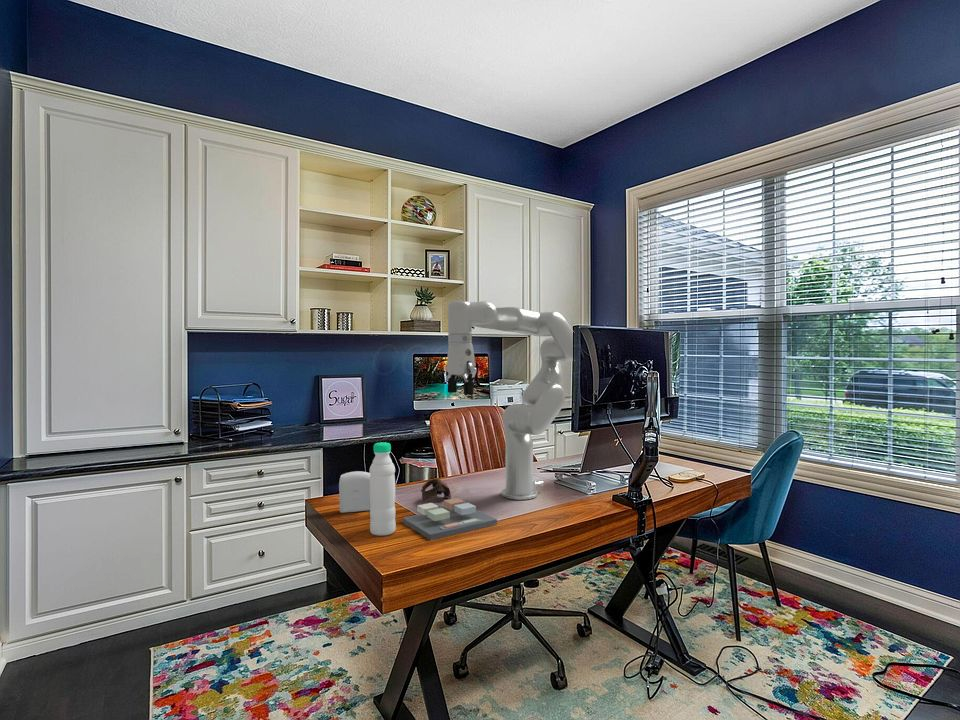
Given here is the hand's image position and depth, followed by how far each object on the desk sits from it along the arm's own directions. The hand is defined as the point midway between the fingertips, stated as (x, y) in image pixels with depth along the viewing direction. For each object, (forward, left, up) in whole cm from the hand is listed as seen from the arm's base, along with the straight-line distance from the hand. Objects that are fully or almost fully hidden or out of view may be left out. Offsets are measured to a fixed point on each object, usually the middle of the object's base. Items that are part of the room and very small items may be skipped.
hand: (460, 393), depth 170 cm
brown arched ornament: (+2, -12, -37) cm, 39 cm away
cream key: (+16, +7, -34) cm, 38 cm away
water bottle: (+30, +7, -37) cm, 48 cm away
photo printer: (+29, -16, -37) cm, 50 cm away
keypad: (+11, +11, -37) cm, 40 cm away
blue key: (+6, +13, -34) cm, 37 cm away
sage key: (+15, +13, -34) cm, 39 cm away
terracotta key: (+6, +7, -34) cm, 35 cm away
